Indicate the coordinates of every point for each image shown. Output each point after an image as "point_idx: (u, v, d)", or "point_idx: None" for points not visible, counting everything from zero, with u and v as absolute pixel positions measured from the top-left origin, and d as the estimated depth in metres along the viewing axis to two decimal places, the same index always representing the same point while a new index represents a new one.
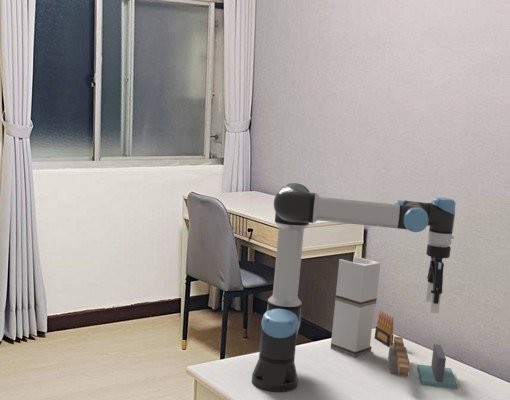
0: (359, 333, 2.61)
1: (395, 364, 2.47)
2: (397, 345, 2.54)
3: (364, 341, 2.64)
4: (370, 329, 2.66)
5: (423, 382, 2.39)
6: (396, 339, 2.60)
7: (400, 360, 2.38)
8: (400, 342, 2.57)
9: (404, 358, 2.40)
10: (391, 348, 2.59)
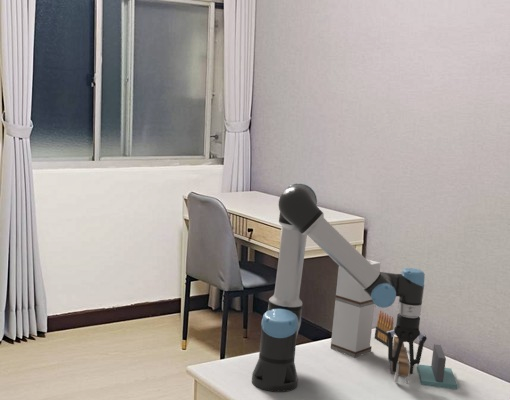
0: (359, 333, 2.61)
1: None
2: None
3: (364, 341, 2.64)
4: (370, 329, 2.66)
5: (423, 382, 2.39)
6: (396, 339, 2.60)
7: (400, 360, 2.38)
8: None
9: (404, 358, 2.40)
10: None
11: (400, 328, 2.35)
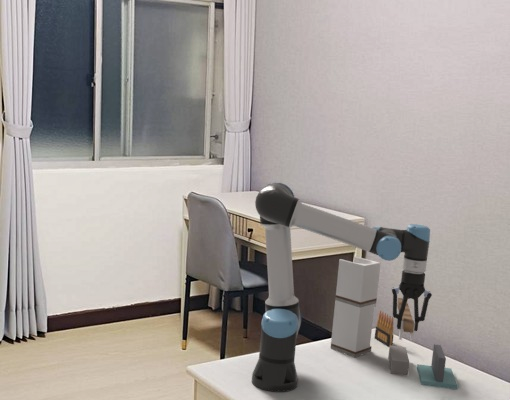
0: (359, 333, 2.61)
1: (395, 364, 2.47)
2: None
3: (364, 341, 2.64)
4: (370, 329, 2.66)
5: (423, 382, 2.39)
6: (400, 300, 2.58)
7: (405, 317, 2.36)
8: None
9: (408, 316, 2.38)
10: (391, 348, 2.59)
11: (405, 284, 2.33)
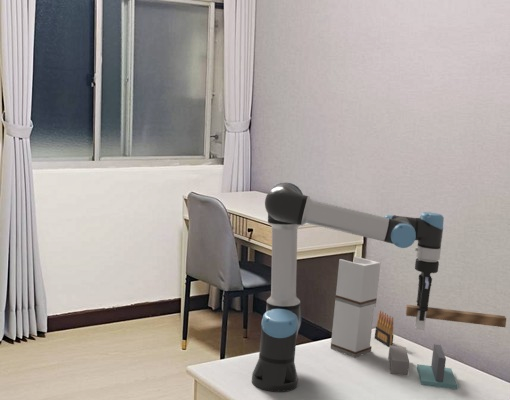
0: (359, 333, 2.61)
1: (395, 364, 2.47)
2: (473, 312, 2.33)
3: (364, 341, 2.64)
4: (370, 329, 2.66)
5: (423, 382, 2.39)
6: (494, 315, 2.32)
7: None
8: (486, 315, 2.31)
9: (432, 309, 2.33)
10: (391, 348, 2.59)
11: None
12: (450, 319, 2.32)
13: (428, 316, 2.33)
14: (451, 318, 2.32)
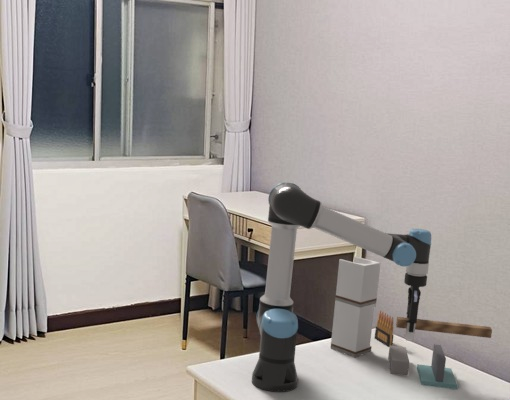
0: (359, 333, 2.61)
1: (395, 364, 2.47)
2: (460, 324, 2.44)
3: (364, 341, 2.64)
4: (370, 329, 2.66)
5: (423, 382, 2.39)
6: (480, 326, 2.43)
7: None
8: (472, 326, 2.42)
9: (421, 320, 2.44)
10: (391, 348, 2.59)
11: None
12: (438, 330, 2.43)
13: (417, 328, 2.44)
14: (439, 330, 2.43)
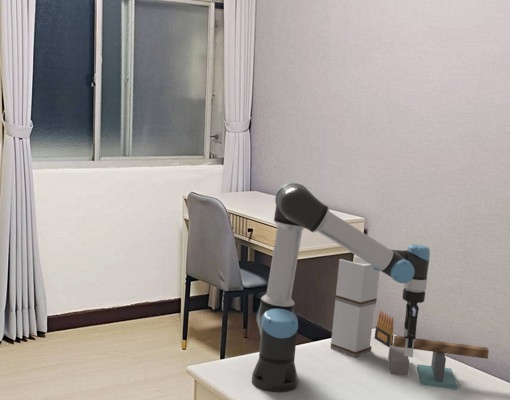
0: (359, 333, 2.61)
1: (395, 364, 2.47)
2: (457, 344, 2.45)
3: (364, 341, 2.64)
4: (370, 329, 2.66)
5: (423, 382, 2.39)
6: (477, 346, 2.44)
7: None
8: (469, 347, 2.43)
9: (418, 340, 2.45)
10: (391, 348, 2.59)
11: None
12: (435, 350, 2.44)
13: (414, 347, 2.44)
14: (436, 350, 2.44)
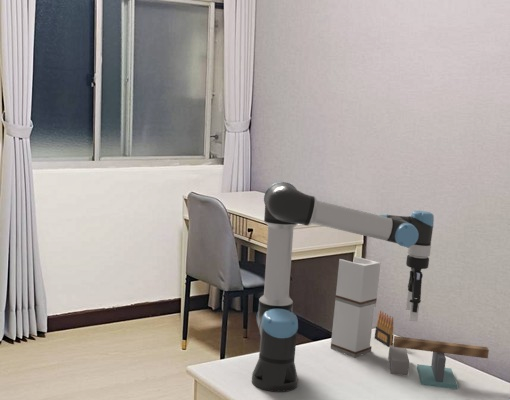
0: (359, 333, 2.61)
1: (395, 364, 2.47)
2: (457, 344, 2.45)
3: (364, 341, 2.64)
4: (370, 329, 2.66)
5: (423, 382, 2.39)
6: (477, 346, 2.44)
7: (411, 338, 2.47)
8: (469, 346, 2.43)
9: (418, 340, 2.45)
10: (391, 348, 2.59)
11: (412, 269, 2.45)
12: (435, 350, 2.44)
13: (414, 347, 2.44)
14: (436, 350, 2.44)
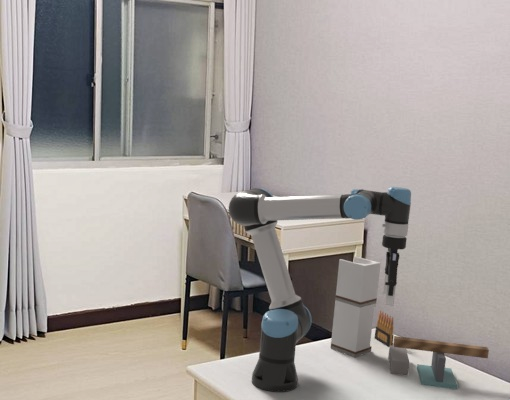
0: (359, 333, 2.61)
1: (395, 364, 2.47)
2: (457, 344, 2.45)
3: (364, 341, 2.64)
4: (370, 329, 2.66)
5: (423, 382, 2.39)
6: (477, 346, 2.44)
7: (411, 338, 2.47)
8: (469, 346, 2.43)
9: (418, 340, 2.45)
10: (391, 348, 2.59)
11: (389, 249, 2.28)
12: (435, 350, 2.44)
13: (414, 347, 2.44)
14: (436, 350, 2.44)
